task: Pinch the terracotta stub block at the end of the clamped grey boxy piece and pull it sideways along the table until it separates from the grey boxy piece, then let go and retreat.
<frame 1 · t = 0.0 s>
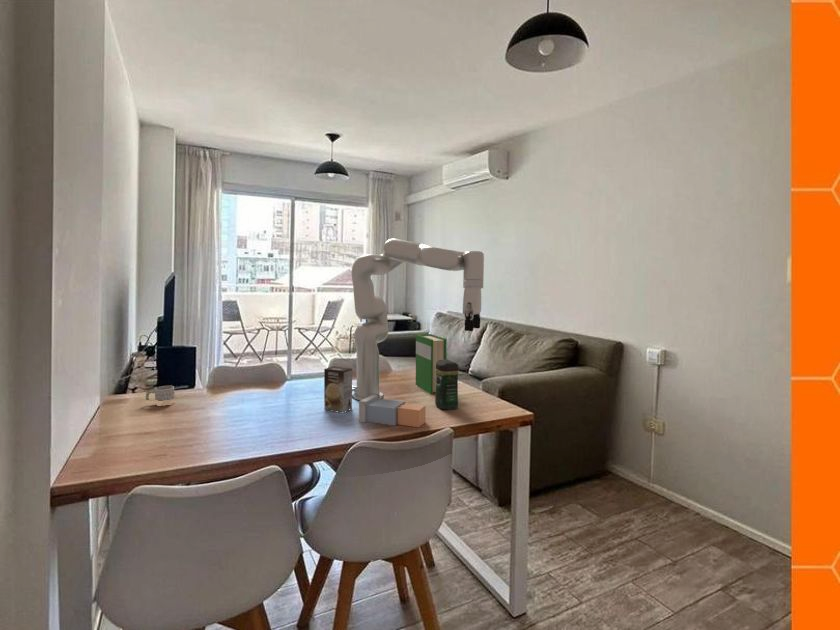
hand: (472, 329, 173), 31 cm above the table, tool pointing down, fingers open, 9 cm apart
hardback book: (430, 389, 208), on the table
grey boxy piece: (382, 419, 163), on the table
coffee box: (338, 410, 175), on the table
coffee jar: (446, 407, 179), on the table
stub: (411, 414, 159), point 3 cm above the table, slide at 0.0 cm
mug: (160, 405, 180), on the table
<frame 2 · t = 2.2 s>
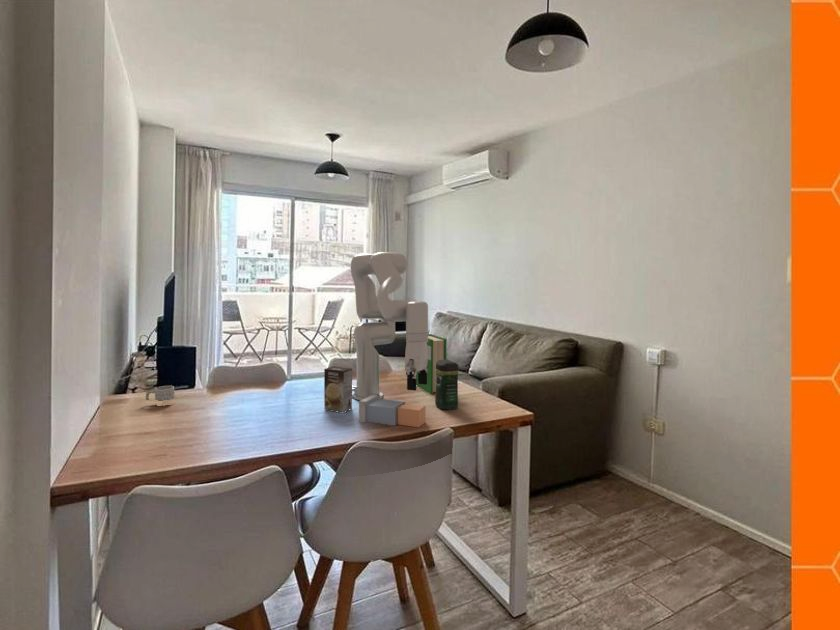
hand: (417, 387, 157), 13 cm above the table, tool pointing down, fingers open, 9 cm apart
nothing on the table moved.
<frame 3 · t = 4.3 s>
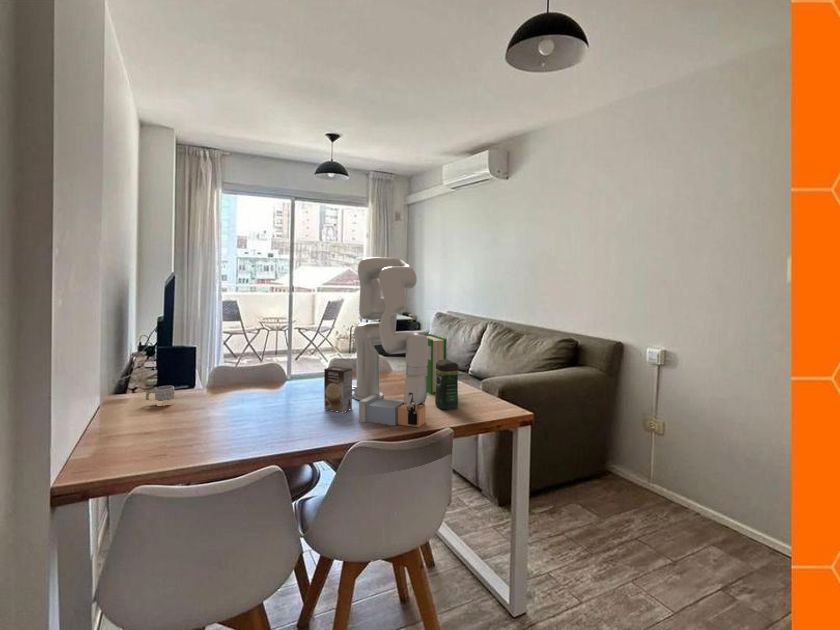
hand: (416, 421, 158), 1 cm above the table, tool pointing down, fingers closed on stub, 6 cm apart
stub: (411, 414, 159), point 3 cm above the table, slide at 0.0 cm, touching gripper
everything else where it was.
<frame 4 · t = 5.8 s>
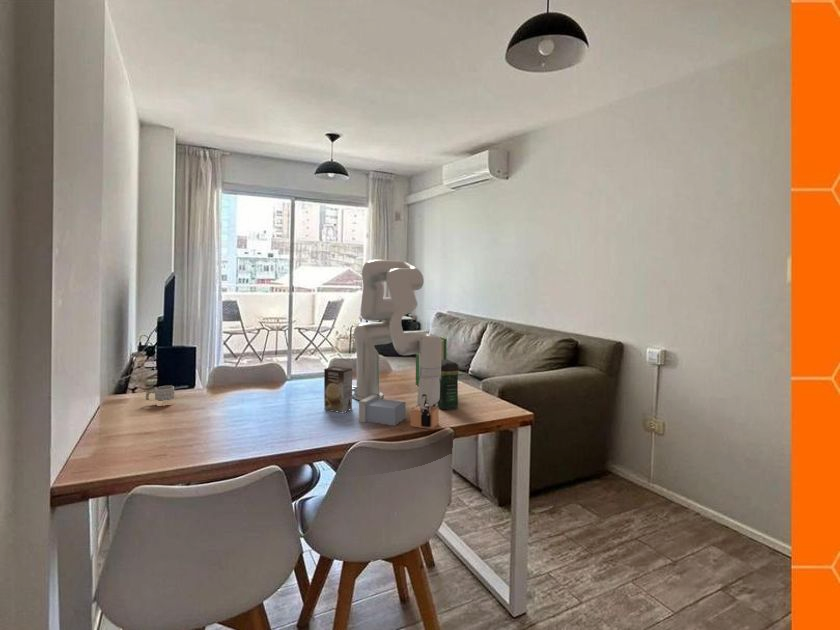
hand: (429, 422, 156), 1 cm above the table, tool pointing down, fingers closed on stub, 6 cm apart
stub: (424, 416, 157), point 3 cm above the table, slide at 4.9 cm, touching gripper
everything else where it was.
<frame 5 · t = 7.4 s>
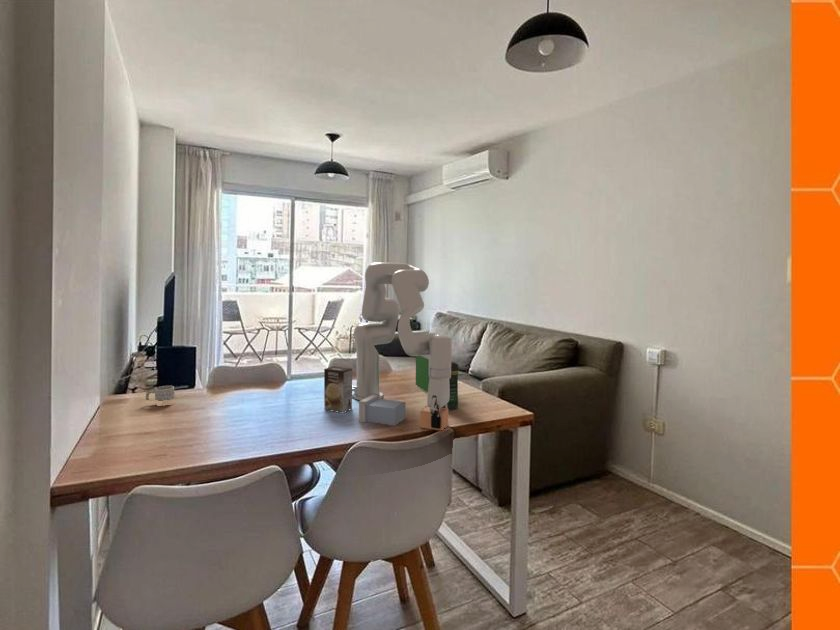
hand: (439, 424, 155), 1 cm above the table, tool pointing down, fingers closed on stub, 6 cm apart
stub: (434, 417, 156), point 3 cm above the table, slide at 8.5 cm, touching gripper
everything else where it was.
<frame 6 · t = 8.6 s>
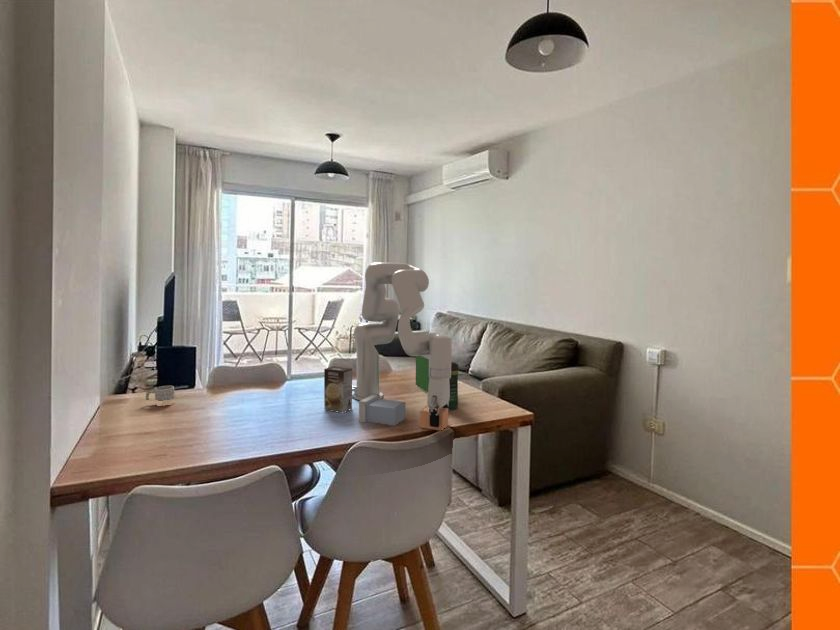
hand: (439, 422, 155), 2 cm above the table, tool pointing down, fingers open, 9 cm apart
stub: (434, 417, 156), point 3 cm above the table, slide at 8.5 cm
everything else where it was.
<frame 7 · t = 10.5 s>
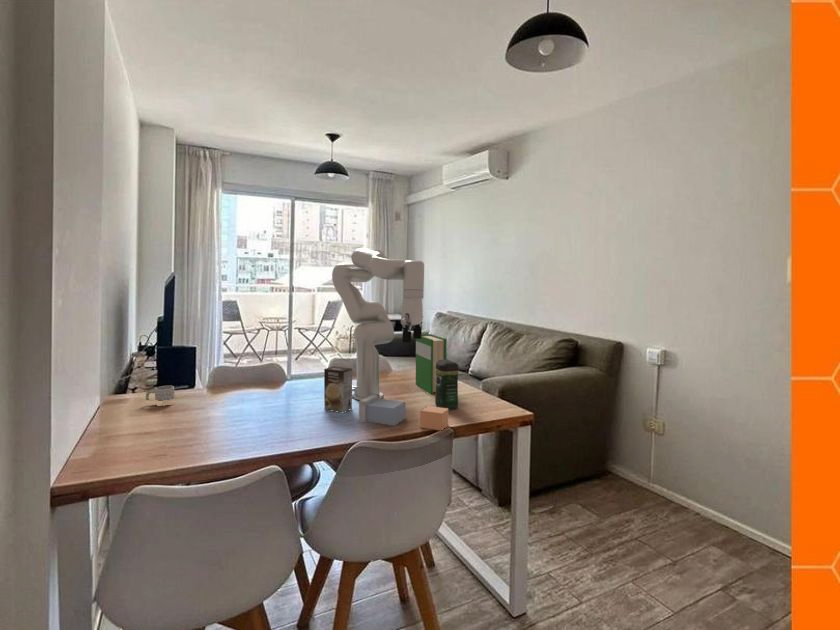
hand: (412, 340, 169), 27 cm above the table, tool pointing down, fingers open, 9 cm apart
nothing on the table moved.
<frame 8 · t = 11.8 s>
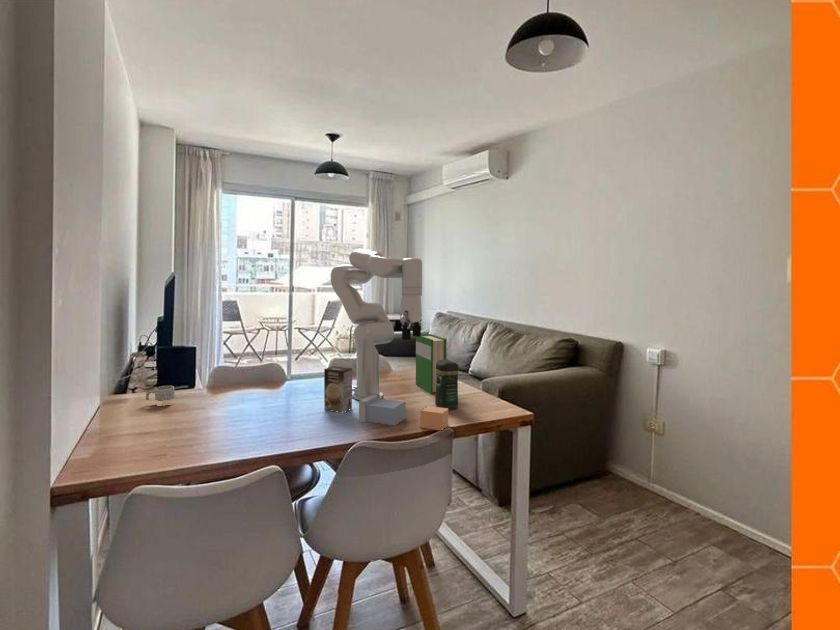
hand: (411, 337, 170), 28 cm above the table, tool pointing down, fingers open, 9 cm apart
nothing on the table moved.
at the end: stub slide at 8.5 cm; the gripper is holding nothing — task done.
